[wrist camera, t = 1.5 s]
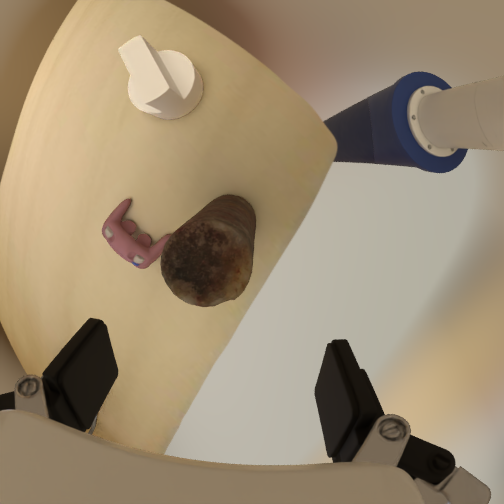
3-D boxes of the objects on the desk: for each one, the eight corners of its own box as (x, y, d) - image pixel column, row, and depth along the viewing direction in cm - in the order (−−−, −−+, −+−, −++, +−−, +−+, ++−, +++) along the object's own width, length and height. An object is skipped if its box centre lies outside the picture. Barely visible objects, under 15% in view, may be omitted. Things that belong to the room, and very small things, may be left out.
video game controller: (120, 211, 41) (92, 236, 35) (128, 193, 38) (97, 218, 33) (164, 250, 43) (140, 279, 38) (176, 235, 40) (150, 265, 35)
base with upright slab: (214, 99, 34) (196, 74, 23) (159, 131, 35) (122, 121, 24) (187, 53, 31) (163, 19, 20) (135, 85, 33) (96, 64, 21)
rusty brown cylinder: (203, 193, 38) (153, 225, 19) (255, 190, 38) (253, 219, 19) (207, 244, 41) (168, 315, 22) (256, 242, 40) (257, 315, 22)
